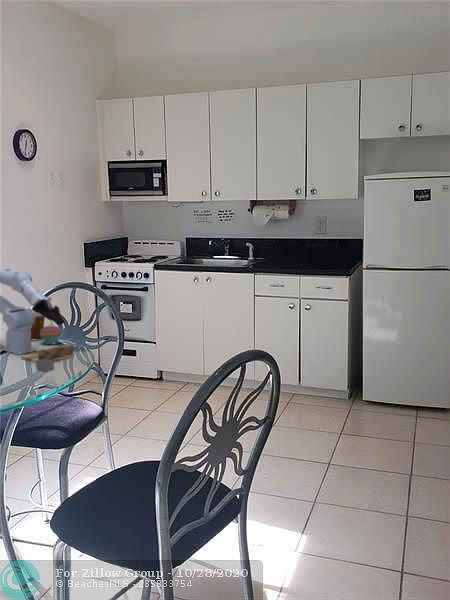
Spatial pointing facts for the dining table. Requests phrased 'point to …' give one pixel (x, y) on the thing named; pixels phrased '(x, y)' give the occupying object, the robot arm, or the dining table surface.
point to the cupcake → (50, 334)
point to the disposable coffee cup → (37, 325)
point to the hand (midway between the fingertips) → (57, 320)
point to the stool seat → (34, 357)
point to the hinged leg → (55, 352)
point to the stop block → (44, 365)
